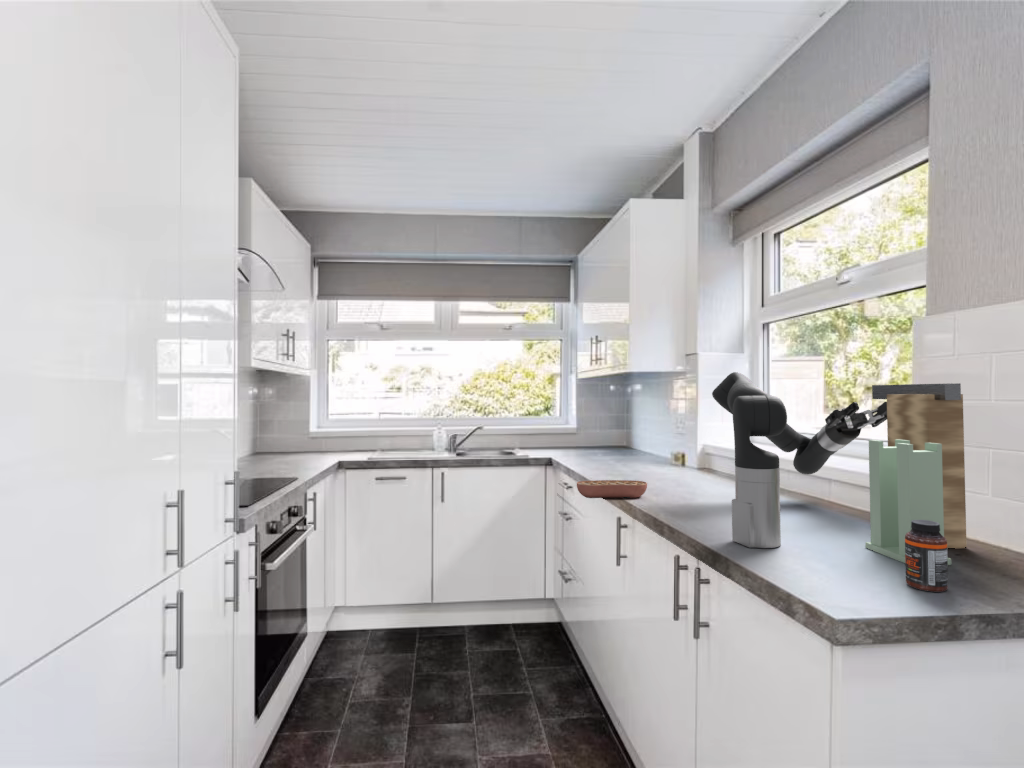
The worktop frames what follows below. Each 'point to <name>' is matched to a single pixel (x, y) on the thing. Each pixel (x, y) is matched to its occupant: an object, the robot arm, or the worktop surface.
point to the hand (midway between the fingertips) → (873, 404)
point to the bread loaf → (611, 488)
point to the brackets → (903, 493)
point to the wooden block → (942, 425)
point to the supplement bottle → (926, 557)
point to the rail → (919, 390)
